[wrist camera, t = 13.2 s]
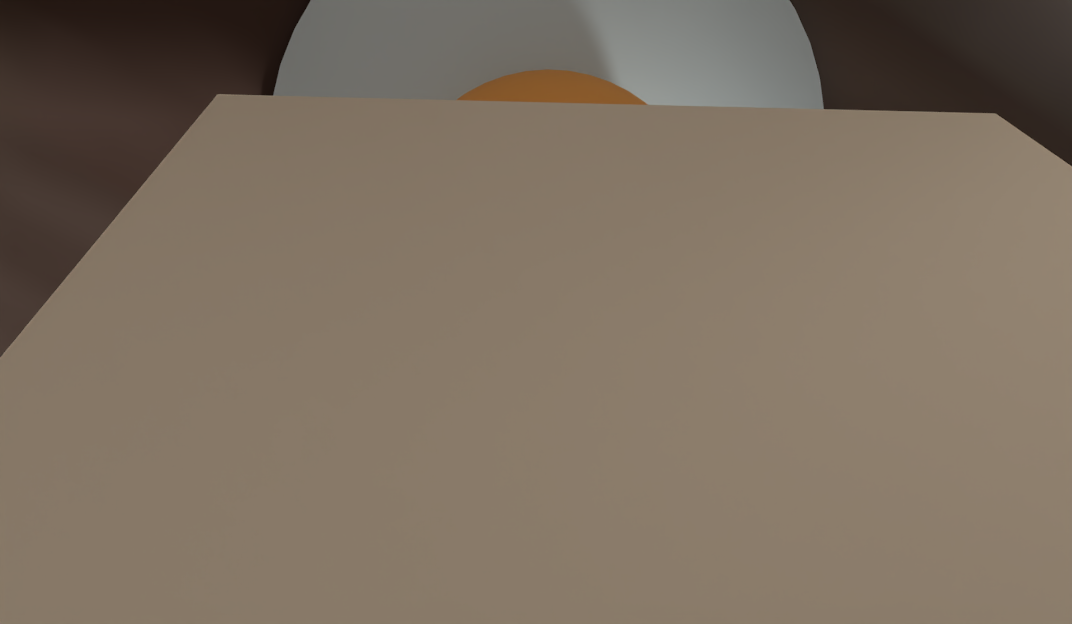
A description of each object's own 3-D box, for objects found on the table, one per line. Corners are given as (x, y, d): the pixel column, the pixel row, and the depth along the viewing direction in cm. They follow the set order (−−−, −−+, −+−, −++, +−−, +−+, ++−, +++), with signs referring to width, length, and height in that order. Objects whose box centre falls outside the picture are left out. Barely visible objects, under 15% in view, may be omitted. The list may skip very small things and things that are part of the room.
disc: (878, -120, 14) (884, -118, 14) (769, 390, 19) (771, 396, 19) (235, -145, 14) (231, -143, 13) (300, 389, 19) (298, 395, 19)
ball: (744, 417, 12) (670, 353, 17) (750, 42, 12) (671, 87, 17) (378, 428, 12) (409, 360, 17) (363, 45, 11) (400, 90, 16)
